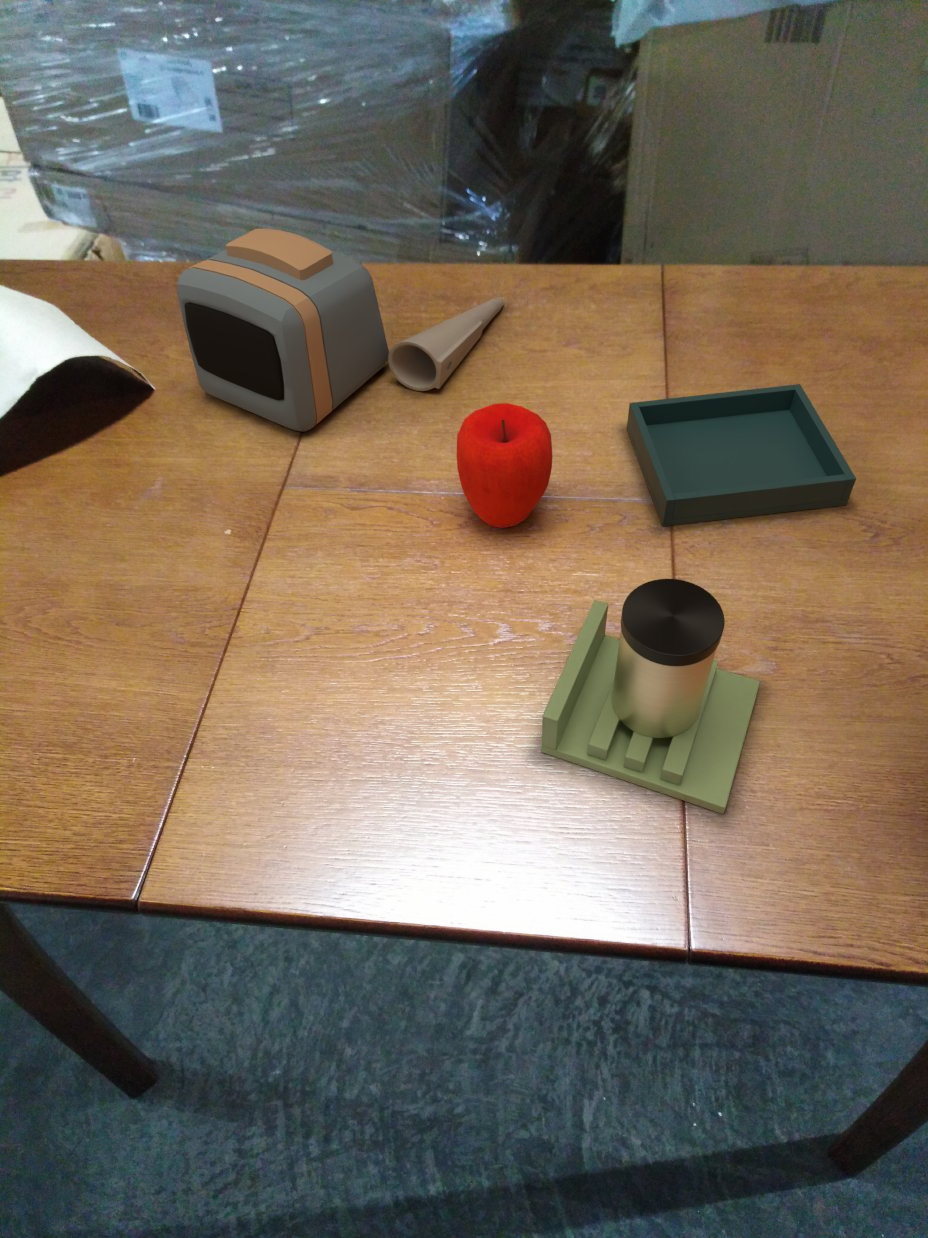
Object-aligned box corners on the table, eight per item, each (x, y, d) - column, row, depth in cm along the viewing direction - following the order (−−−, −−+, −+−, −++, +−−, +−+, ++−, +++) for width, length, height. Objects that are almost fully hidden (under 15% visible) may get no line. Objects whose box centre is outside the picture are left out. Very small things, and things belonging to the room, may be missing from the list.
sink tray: (792, 410, 93) (800, 383, 91) (846, 505, 84) (856, 478, 82) (626, 428, 93) (629, 402, 90) (662, 526, 83) (666, 500, 81)
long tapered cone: (461, 263, 108) (388, 334, 95) (510, 279, 106) (443, 352, 94) (456, 307, 112) (386, 380, 99) (503, 323, 110) (438, 398, 98)
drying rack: (758, 687, 71) (771, 649, 68) (723, 814, 65) (735, 780, 61) (590, 638, 75) (594, 599, 72) (540, 752, 69) (542, 716, 65)
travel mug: (687, 660, 70) (708, 573, 63) (712, 733, 66) (738, 649, 58) (601, 671, 70) (612, 584, 62) (621, 744, 66) (635, 661, 58)
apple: (569, 521, 84) (574, 429, 76) (491, 558, 82) (487, 468, 74) (518, 469, 89) (518, 378, 81) (442, 503, 87) (434, 412, 79)
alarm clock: (195, 396, 100) (149, 262, 88) (290, 325, 108) (261, 193, 96) (307, 444, 94) (274, 307, 81) (398, 364, 102) (382, 228, 90)
